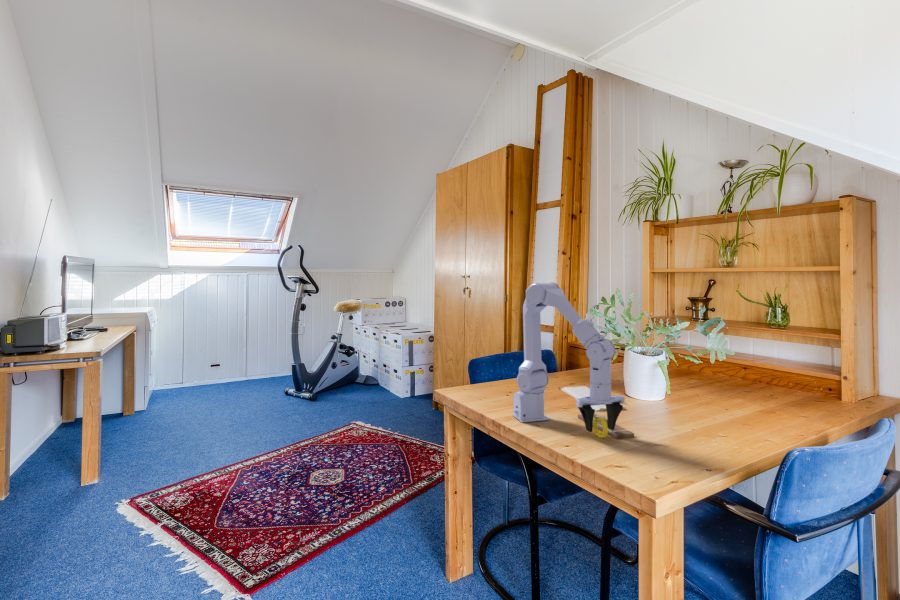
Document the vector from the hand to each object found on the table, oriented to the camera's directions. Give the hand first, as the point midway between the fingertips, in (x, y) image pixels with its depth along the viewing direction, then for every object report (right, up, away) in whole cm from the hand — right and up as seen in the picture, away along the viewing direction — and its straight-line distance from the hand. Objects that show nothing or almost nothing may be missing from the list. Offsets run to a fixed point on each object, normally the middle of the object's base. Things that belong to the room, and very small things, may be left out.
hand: (600, 429), depth 129 cm
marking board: (+4, -2, +8) cm, 9 cm away
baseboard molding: (+9, -1, +41) cm, 42 cm away
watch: (0, -2, 0) cm, 2 cm away
